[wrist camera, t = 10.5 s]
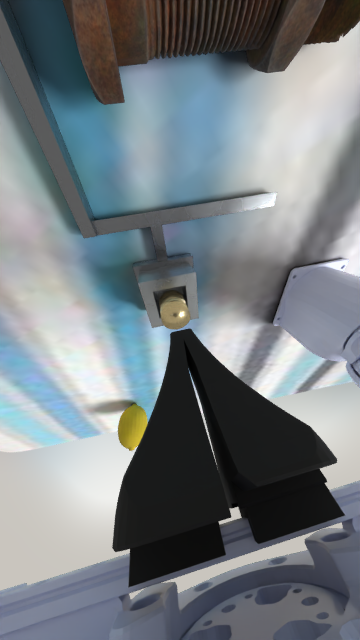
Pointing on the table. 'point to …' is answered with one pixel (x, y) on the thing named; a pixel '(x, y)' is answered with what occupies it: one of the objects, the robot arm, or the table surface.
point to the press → (152, 276)
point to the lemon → (132, 426)
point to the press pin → (173, 310)
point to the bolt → (199, 32)
